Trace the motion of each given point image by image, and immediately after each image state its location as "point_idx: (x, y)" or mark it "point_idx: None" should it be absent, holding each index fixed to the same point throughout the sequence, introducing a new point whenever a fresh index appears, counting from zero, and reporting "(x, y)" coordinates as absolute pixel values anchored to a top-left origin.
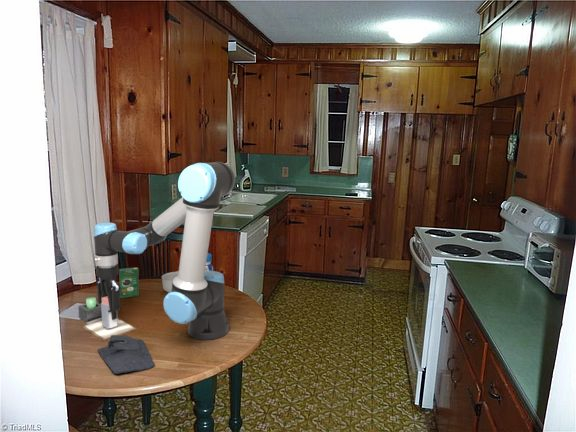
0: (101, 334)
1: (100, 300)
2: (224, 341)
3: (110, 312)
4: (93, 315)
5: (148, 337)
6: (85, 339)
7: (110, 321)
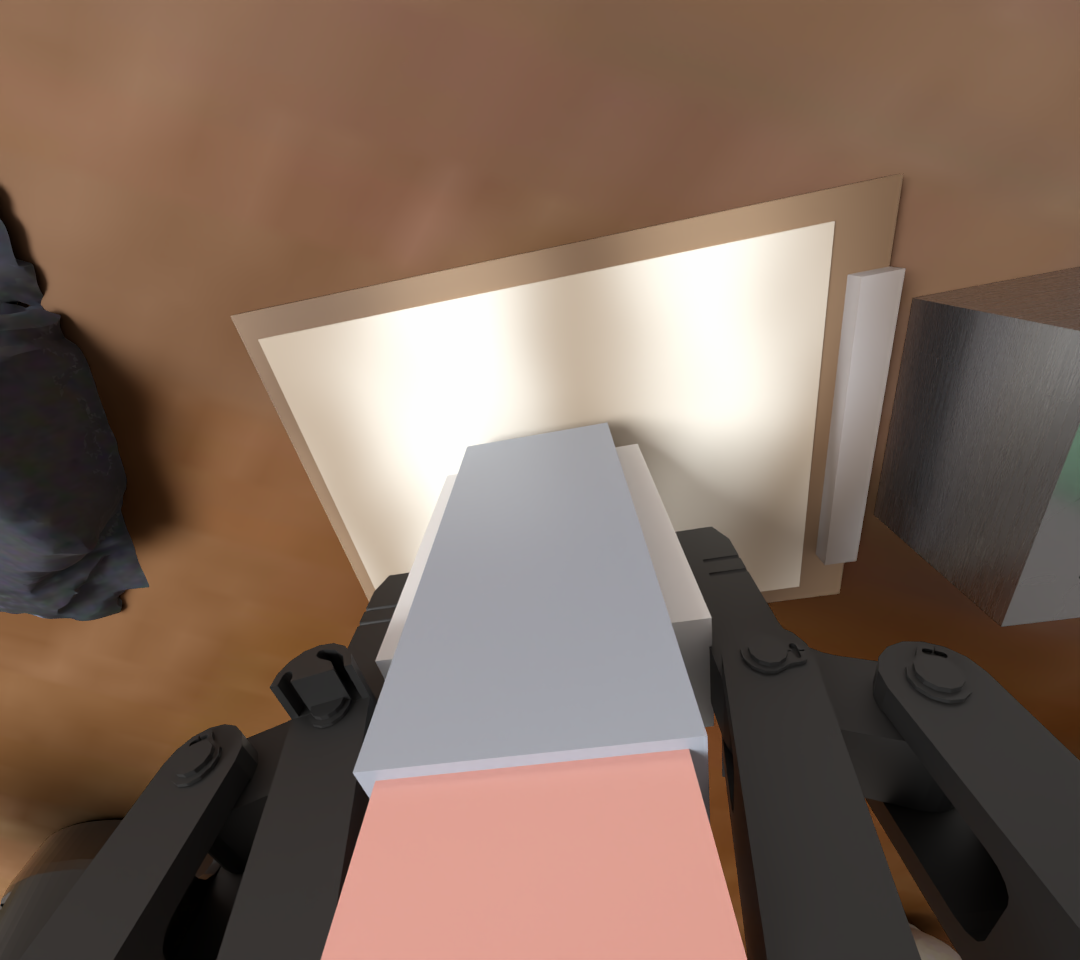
0: (402, 342)
1: (933, 765)
2: (11, 880)
3: (392, 653)
4: (961, 414)
5: (188, 657)
6: (398, 98)
7: (430, 532)
